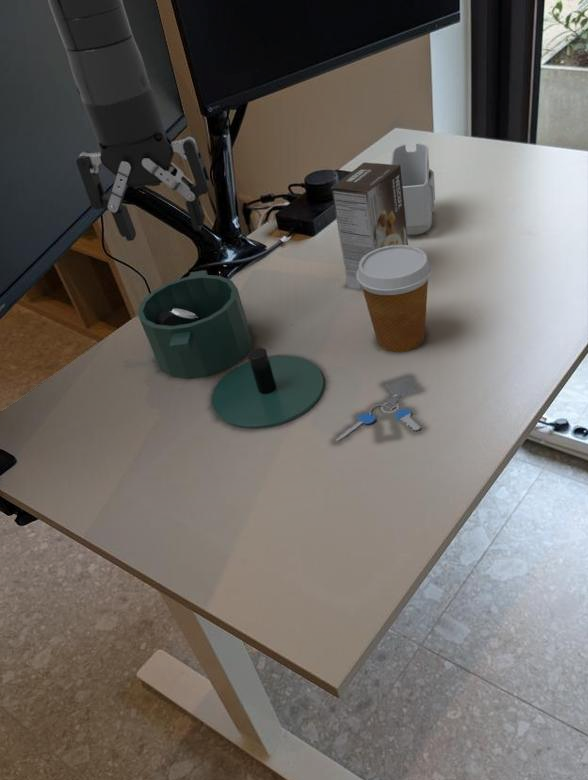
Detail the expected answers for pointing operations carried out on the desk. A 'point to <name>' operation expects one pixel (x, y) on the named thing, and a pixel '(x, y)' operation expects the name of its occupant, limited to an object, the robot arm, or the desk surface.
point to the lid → (267, 390)
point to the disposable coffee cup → (396, 294)
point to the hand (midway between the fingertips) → (165, 233)
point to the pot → (196, 326)
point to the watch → (174, 312)
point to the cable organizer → (416, 187)
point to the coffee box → (369, 213)
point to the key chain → (397, 391)
